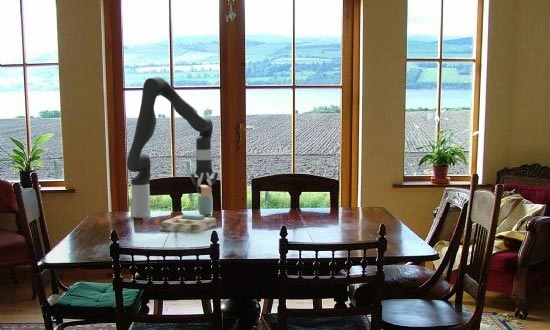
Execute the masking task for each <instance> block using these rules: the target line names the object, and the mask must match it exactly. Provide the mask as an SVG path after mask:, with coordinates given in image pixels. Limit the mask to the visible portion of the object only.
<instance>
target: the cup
mask: <svg viewBox="0 0 550 330" xmlns="http://www.w3.org/2000/svg"><path fill="white" fill-rule="evenodd" d="M213 201H214V199H213V195H212V196H202V195H200V194H199V195H198V196H197V209H198V212H199V213H198V214H199V215H204V216H209V215H211V214H212V213H213Z"/></svg>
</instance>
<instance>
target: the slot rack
mask: <svg viewBox="0 0 550 330" xmlns="http://www.w3.org/2000/svg"><path fill="white" fill-rule="evenodd" d="M216 225H217V218H216V217H205V216H204V220H188V219H182V215H181V214H179V215H177V216H175V217H172V218H169V219H166V220H164V221H162V222H160V230H161V231H173V232H183V231H184V232H186V233H195V234H196V233H197V234H200V233H201V232H204V231H206V230H208V229H210V228H213V227H215V226H216Z"/></svg>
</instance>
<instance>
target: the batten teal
mask: <svg viewBox="0 0 550 330" xmlns="http://www.w3.org/2000/svg"><path fill="white" fill-rule="evenodd" d="M181 216H182V219H188V220H204V217H205V215H201V214H194V213H185V214H182V215H181Z"/></svg>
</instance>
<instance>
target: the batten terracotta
mask: <svg viewBox="0 0 550 330" xmlns="http://www.w3.org/2000/svg"><path fill="white" fill-rule="evenodd" d="M200 186H201V194H199V193H198V192H197V194H199V196H200V195H202V196H212V197H213V194H212V193H213V192H212V191H213V190H212V189H213V187H209V186H208V184H207V185H206V184H200Z"/></svg>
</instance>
